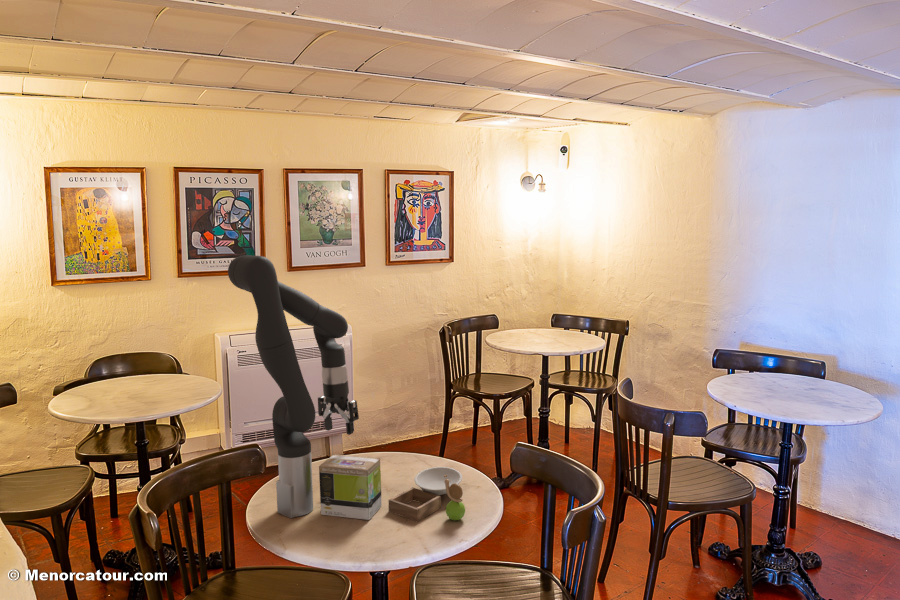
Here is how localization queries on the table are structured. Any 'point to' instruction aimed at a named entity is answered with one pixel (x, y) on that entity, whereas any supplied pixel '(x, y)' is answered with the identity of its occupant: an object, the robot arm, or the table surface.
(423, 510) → the brown wooden square tray
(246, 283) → the robot arm
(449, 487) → the snail figurine
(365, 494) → the tea box
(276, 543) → the table surface
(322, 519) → the table surface
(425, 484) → the dish
